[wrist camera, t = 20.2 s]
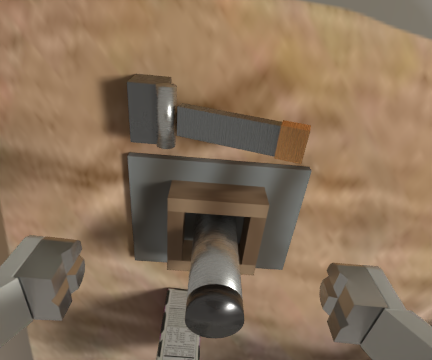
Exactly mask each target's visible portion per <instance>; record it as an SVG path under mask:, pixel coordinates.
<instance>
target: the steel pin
mask: <svg viewBox="0 0 432 360" xmlns="http://www.w3.org/2000/svg"><path fill="white" fill-rule="evenodd" d="M185 324H186V326H187V327H188V329H189V330H190V331H192V332H193V333H195V334H197V335H199V336H202V337H206V338H223V337H227V336H230V335H233V334H235V333H236V332H238V331H239V330H240V329H241V328H242V326H243V324H244V311H243V300H242V289H241V277H240V266H239V255H238V243H237V232H236V221H235V216H229V215H215V214H201V213H197V214H196V217H195V225H194V235H193V244H192V254H191V264H190V273H189V283H188V293H187V302H186V312H185Z"/></svg>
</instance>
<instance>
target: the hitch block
mask: <svg viewBox="0 0 432 360" xmlns="http://www.w3.org/2000/svg"><path fill="white" fill-rule="evenodd" d="M128 170H129V184H130V197H131V211H132V225H133V239H134V253H135V260H138V261H154V262H167V270H178V271H190V264H191V254H192V244H193V235H194V225H195V217H196V214H197V213H201V214H215V215H229V216H235V221H236V232H237V243H238V255H239V266H240V274H241V275H254V271H255V268H263V269H279V270H282V269H283V266H284V262H285V259H286V256H287V252H288V249H289V245H290V242H291V239H292V235H293V232H294V229H295V225H296V222H297V218H298V215H299V212H300V208H301V205H302V201H303V198H304V195H305V191H306V188H307V184H308V181H309V178H310V174H311V169H310V167H304V166H292V165H280V164H267V163H255V162H242V161H230V160H218V159H205V158H193V157H181V156H168V155H156V154H143V153H131V152H130V153H129V154H128Z"/></svg>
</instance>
